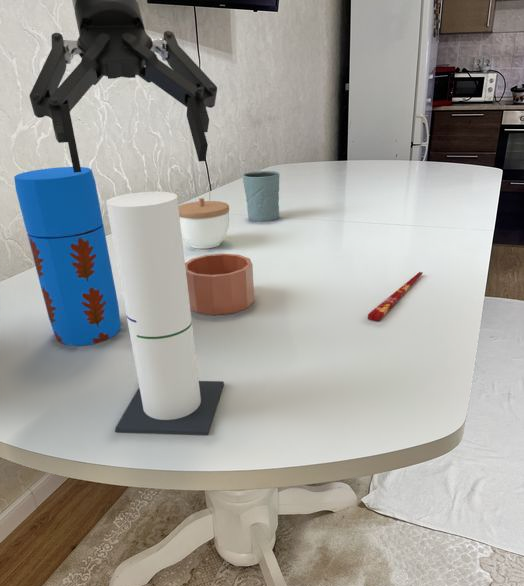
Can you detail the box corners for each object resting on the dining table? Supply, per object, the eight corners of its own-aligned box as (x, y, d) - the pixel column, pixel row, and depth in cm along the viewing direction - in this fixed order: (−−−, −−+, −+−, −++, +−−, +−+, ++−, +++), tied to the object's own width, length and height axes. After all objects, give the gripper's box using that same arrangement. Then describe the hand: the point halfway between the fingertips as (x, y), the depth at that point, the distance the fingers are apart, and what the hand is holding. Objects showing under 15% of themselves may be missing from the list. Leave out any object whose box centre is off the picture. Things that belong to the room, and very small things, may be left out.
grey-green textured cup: (274, 223, 142) (272, 177, 137) (239, 221, 146) (236, 176, 140) (285, 214, 151) (284, 170, 145) (252, 212, 154) (249, 170, 148)
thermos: (70, 353, 79) (28, 183, 68) (43, 331, 87) (1, 174, 75) (134, 330, 86) (106, 171, 74) (104, 312, 93) (74, 164, 81)
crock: (174, 301, 96) (170, 264, 93) (228, 284, 103) (225, 249, 99) (211, 320, 88) (207, 281, 84) (267, 301, 94) (265, 263, 91)
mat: (115, 432, 61) (114, 428, 61) (143, 382, 71) (143, 379, 71) (207, 435, 60) (207, 431, 60) (224, 384, 70) (223, 381, 69)
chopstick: (424, 275, 102) (424, 270, 102) (378, 321, 85) (379, 316, 84) (414, 273, 103) (414, 269, 103) (367, 319, 86) (367, 313, 85)
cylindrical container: (178, 381, 70) (151, 189, 58) (212, 401, 65) (191, 196, 53) (131, 404, 65) (92, 200, 54) (165, 427, 61) (130, 210, 49)
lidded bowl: (203, 234, 135) (199, 191, 130) (242, 241, 128) (239, 195, 123) (168, 247, 126) (162, 201, 121) (208, 255, 119) (204, 206, 114)
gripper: (206, 35, 69) (246, 170, 63) (1, 39, 62) (25, 191, 57) (212, -21, 62) (258, 125, 56) (-17, -23, 55) (8, 143, 50)
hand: (141, 158), depth 56 cm, fingers open, 13 cm apart
